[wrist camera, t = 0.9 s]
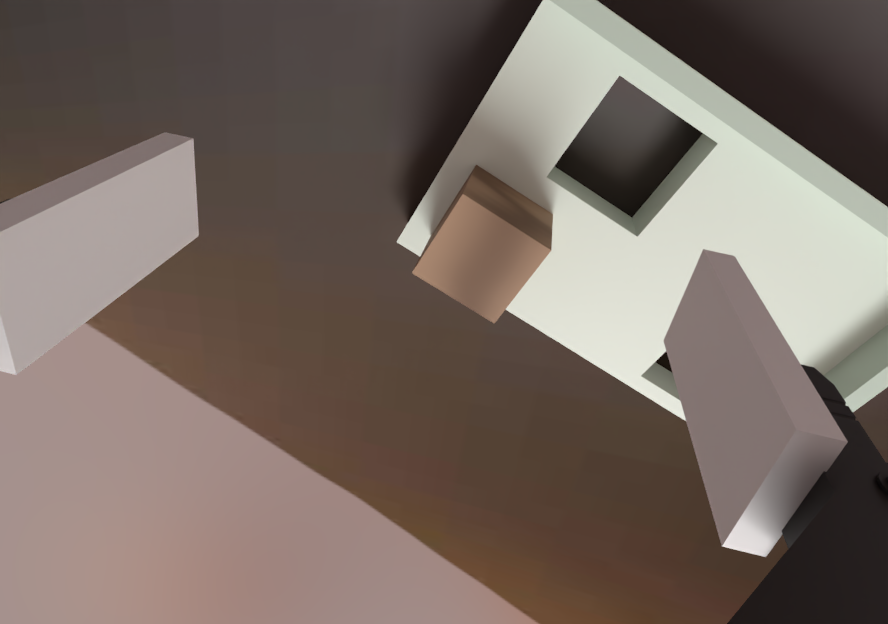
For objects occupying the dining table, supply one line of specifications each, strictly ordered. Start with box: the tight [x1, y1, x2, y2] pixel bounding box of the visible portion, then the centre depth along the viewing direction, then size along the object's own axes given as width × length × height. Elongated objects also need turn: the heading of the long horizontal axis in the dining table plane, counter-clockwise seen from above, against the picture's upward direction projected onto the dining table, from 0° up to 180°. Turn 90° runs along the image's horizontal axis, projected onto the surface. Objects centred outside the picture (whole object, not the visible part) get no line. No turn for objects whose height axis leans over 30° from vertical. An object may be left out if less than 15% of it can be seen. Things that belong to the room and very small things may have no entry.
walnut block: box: [412, 165, 553, 323], centre depth 32 cm, size 5×5×5 cm
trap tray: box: [397, 0, 888, 421], centre depth 33 cm, size 26×16×6 cm, turn 60°
